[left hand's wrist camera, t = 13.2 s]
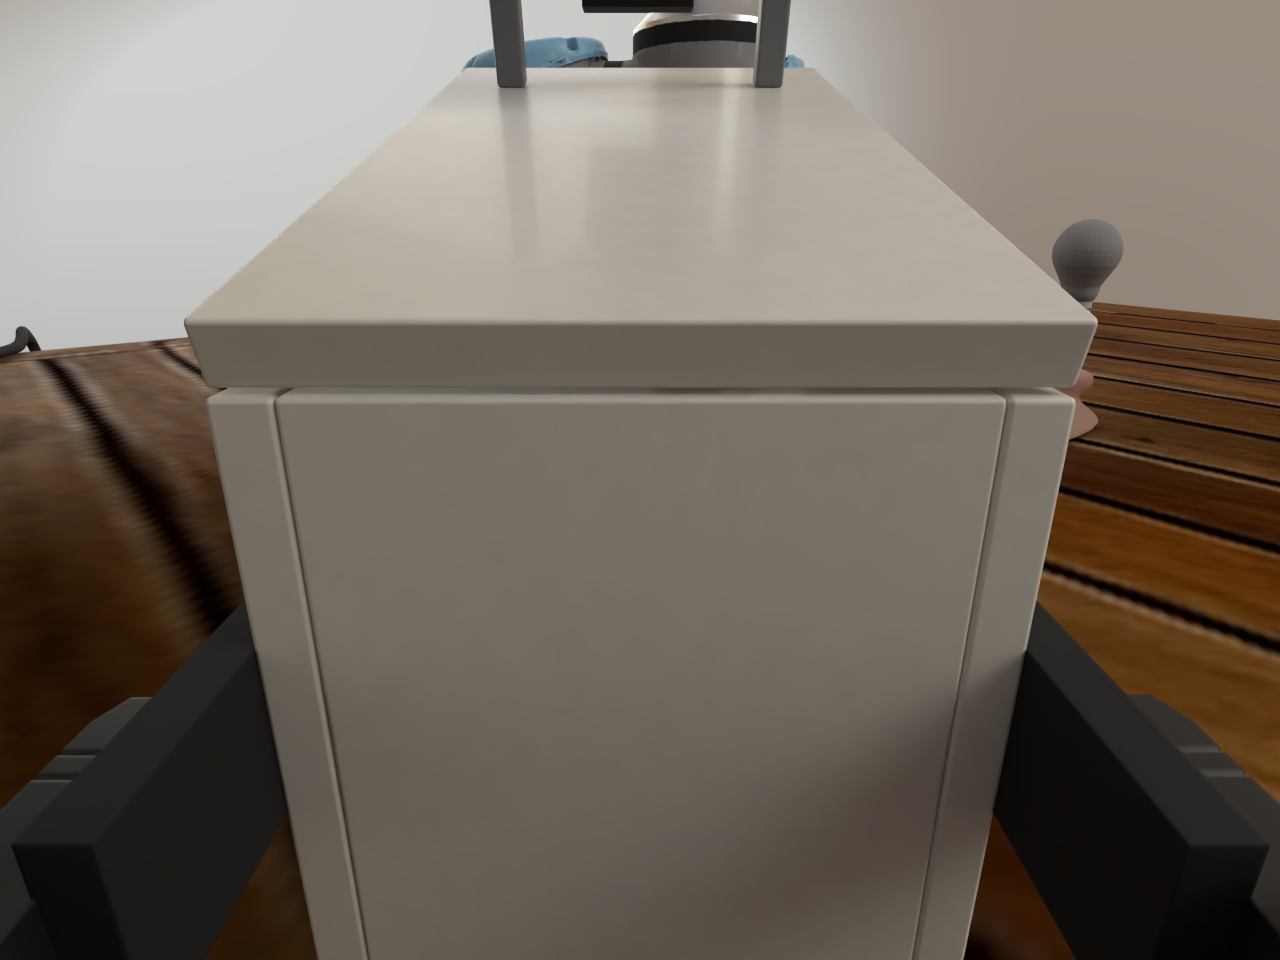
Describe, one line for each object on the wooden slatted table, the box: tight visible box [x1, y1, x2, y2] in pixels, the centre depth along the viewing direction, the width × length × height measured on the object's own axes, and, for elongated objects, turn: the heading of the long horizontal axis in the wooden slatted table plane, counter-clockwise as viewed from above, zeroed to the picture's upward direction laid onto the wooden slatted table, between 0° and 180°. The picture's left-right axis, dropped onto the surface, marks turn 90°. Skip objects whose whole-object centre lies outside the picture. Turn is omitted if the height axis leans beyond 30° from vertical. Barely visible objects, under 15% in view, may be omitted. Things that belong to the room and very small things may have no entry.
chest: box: [206, 387, 1076, 960], centre depth 19 cm, size 17×10×11 cm, turn 0°
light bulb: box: [1052, 219, 1123, 312], centre depth 76 cm, size 6×6×10 cm
